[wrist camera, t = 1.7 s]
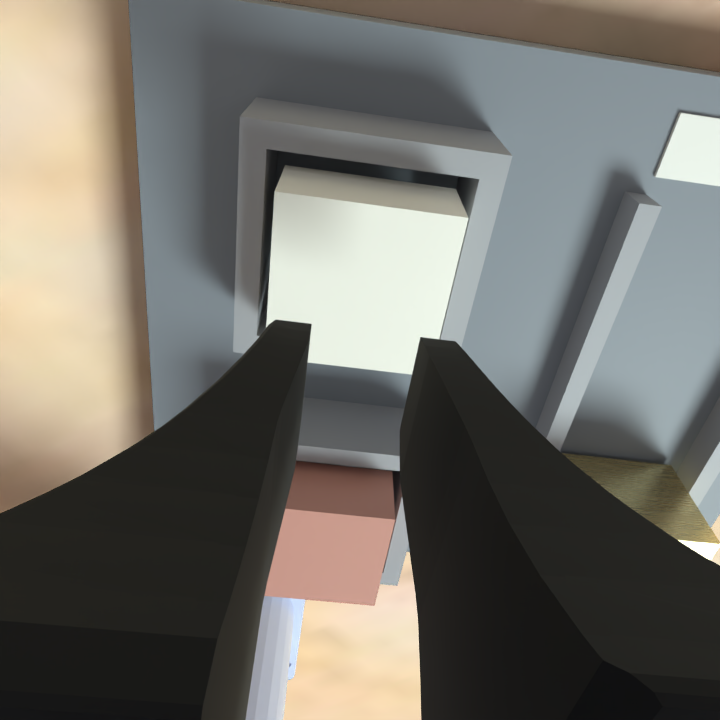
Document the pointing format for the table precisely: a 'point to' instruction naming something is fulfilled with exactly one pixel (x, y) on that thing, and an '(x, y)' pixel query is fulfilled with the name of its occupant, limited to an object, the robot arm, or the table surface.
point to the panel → (483, 231)
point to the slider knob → (653, 497)
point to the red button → (333, 534)
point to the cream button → (363, 264)
